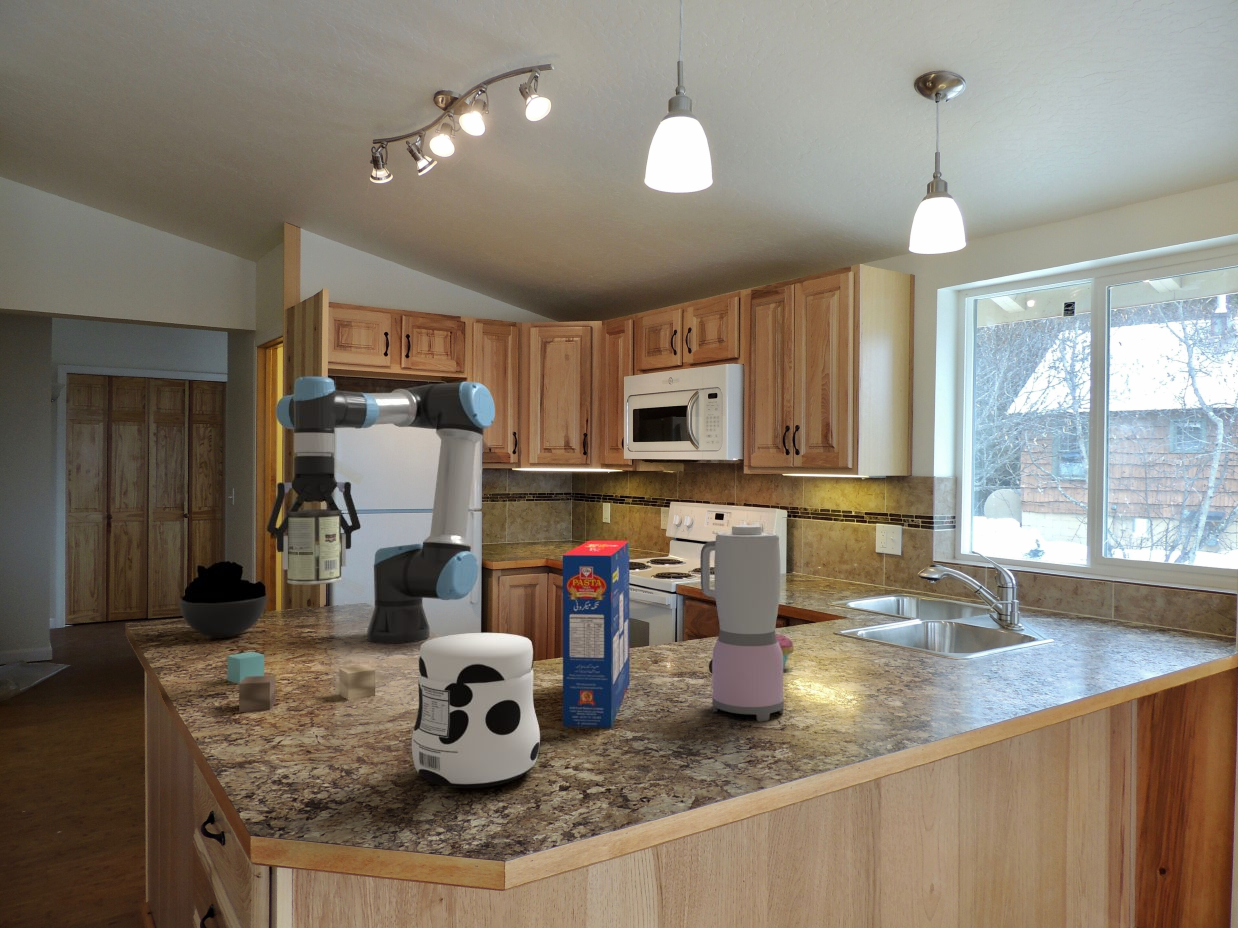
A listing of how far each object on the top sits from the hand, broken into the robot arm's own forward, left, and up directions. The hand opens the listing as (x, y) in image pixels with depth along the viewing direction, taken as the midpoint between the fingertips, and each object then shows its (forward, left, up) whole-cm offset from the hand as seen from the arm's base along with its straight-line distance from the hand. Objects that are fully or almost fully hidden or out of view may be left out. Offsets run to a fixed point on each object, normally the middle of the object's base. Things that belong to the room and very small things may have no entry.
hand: (314, 567), depth 164 cm
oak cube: (-6, +14, -23) cm, 27 cm away
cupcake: (-88, +32, -23) cm, 96 cm away
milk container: (-14, +63, -23) cm, 69 cm away
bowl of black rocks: (+15, -57, -23) cm, 63 cm away
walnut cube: (+11, +14, -23) cm, 29 cm away
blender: (-64, +54, -23) cm, 87 cm away
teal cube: (+12, -8, -23) cm, 27 cm away
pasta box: (-44, +39, -23) cm, 63 cm away
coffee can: (0, 0, -3) cm, 3 cm away
